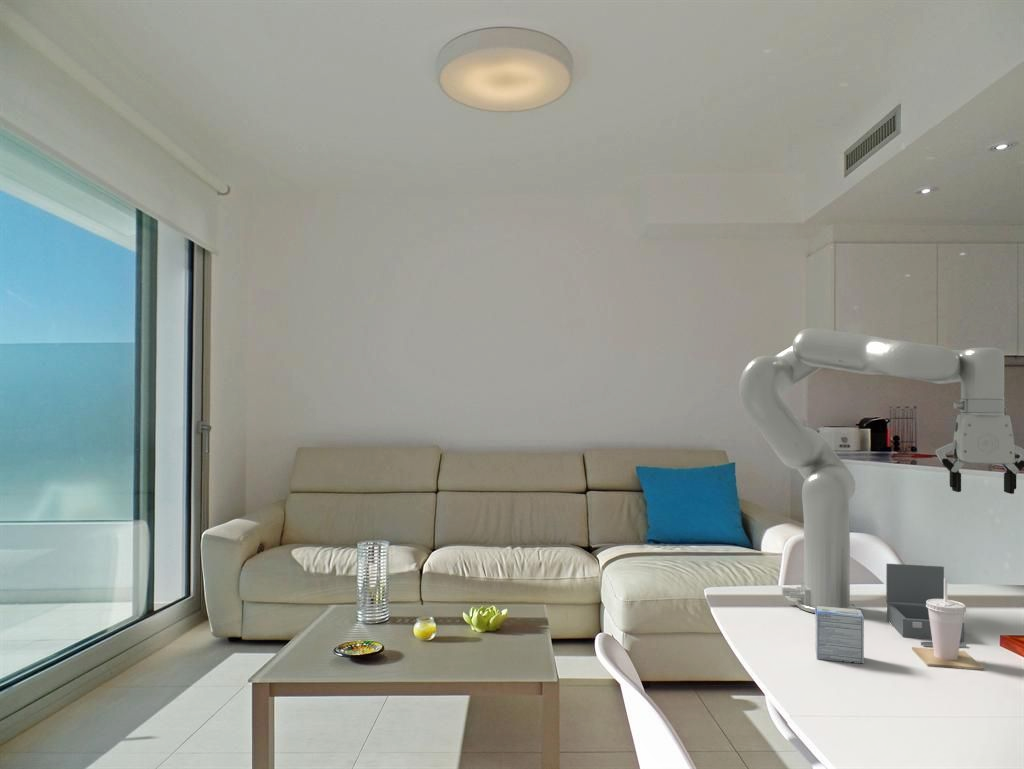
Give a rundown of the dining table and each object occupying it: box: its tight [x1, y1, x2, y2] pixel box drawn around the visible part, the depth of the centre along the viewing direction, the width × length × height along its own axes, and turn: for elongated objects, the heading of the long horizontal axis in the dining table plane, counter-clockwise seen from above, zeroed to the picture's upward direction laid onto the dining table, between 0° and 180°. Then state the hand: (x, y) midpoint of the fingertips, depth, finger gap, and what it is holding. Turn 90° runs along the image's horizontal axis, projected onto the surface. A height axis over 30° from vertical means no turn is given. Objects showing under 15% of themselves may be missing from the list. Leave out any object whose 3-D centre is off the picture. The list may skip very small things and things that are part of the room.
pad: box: [911, 646, 985, 671], centre depth 137 cm, size 9×9×1 cm
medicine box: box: [814, 606, 865, 665], centre depth 137 cm, size 8×4×9 cm, turn 71°
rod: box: [920, 641, 967, 649], centre depth 144 cm, size 8×1×1 cm, turn 88°
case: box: [885, 563, 965, 642], centre depth 154 cm, size 11×13×12 cm
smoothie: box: [926, 577, 967, 660], centre depth 137 cm, size 6×6×14 cm
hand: (982, 492), depth 154 cm, fingers open, 9 cm apart
